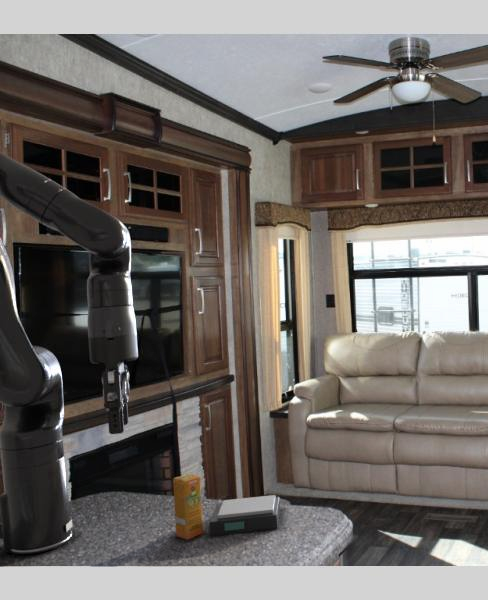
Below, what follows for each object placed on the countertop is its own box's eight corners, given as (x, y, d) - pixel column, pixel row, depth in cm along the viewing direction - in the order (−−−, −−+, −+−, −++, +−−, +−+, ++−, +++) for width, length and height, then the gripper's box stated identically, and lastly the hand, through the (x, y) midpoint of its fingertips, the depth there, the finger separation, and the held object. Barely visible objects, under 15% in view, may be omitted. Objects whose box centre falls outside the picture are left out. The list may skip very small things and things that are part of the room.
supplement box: (188, 540, 110) (183, 481, 110) (175, 536, 112) (170, 477, 112) (205, 533, 113) (200, 475, 112) (192, 529, 115) (188, 472, 114)
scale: (210, 536, 111) (208, 519, 111) (218, 516, 120) (216, 500, 120) (277, 529, 113) (276, 511, 113) (280, 509, 122) (278, 493, 122)
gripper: (94, 334, 119) (100, 425, 119) (82, 336, 106) (89, 439, 106) (139, 330, 121) (145, 420, 121) (133, 332, 108) (140, 433, 108)
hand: (119, 429), depth 113 cm, fingers open, 8 cm apart
